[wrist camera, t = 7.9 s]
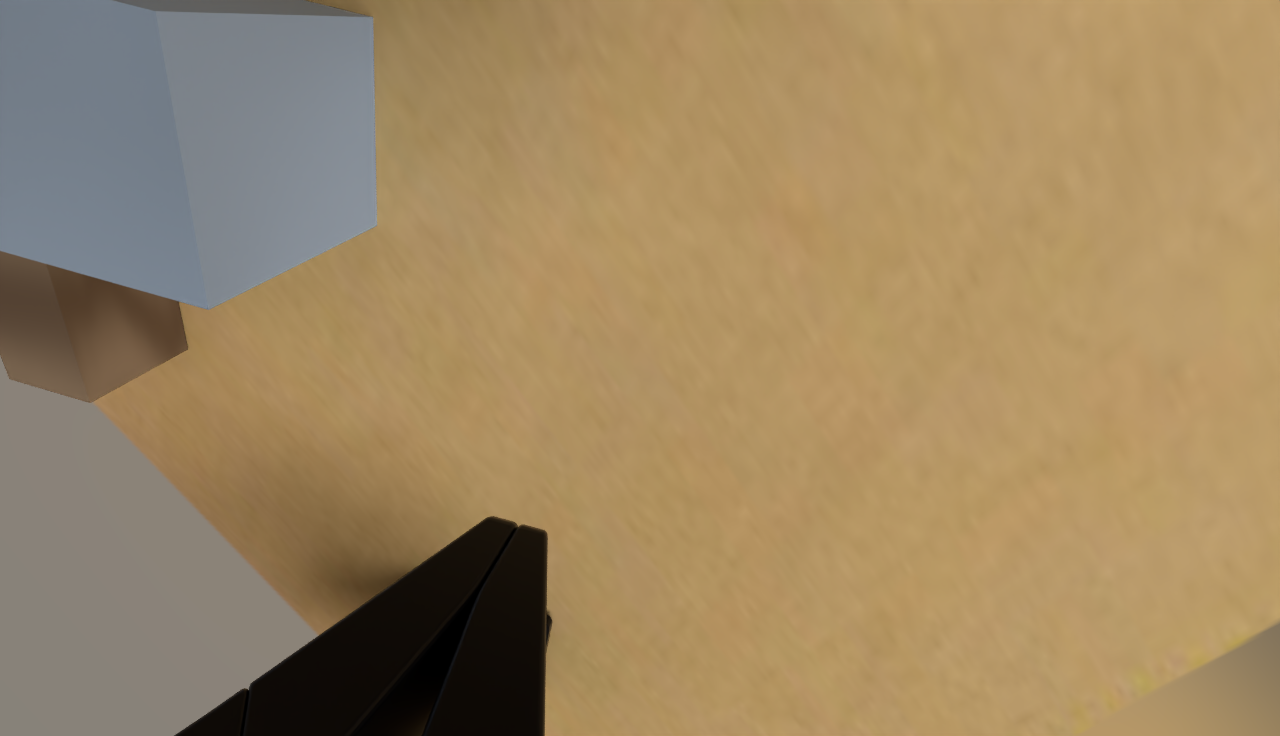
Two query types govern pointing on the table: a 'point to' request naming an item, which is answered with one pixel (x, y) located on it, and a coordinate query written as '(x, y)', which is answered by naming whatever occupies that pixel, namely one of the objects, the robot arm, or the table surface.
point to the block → (184, 139)
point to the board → (81, 329)
